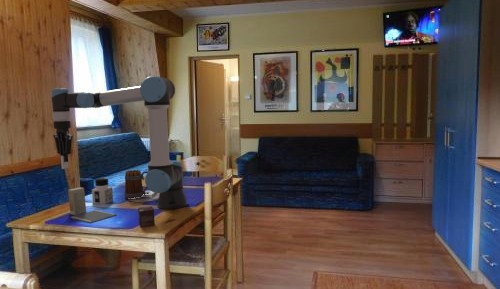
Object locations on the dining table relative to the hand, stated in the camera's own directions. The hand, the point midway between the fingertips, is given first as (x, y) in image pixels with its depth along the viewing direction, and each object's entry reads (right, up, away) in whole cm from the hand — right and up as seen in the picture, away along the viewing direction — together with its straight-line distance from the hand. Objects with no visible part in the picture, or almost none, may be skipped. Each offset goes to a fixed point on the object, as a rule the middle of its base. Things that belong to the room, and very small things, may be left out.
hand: (65, 168), depth 190 cm
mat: (+17, -22, -9) cm, 30 cm away
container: (+12, -20, +19) cm, 30 cm away
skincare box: (+7, -22, -2) cm, 23 cm away
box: (+46, -23, -23) cm, 57 cm away
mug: (+28, -18, +28) cm, 44 cm away
